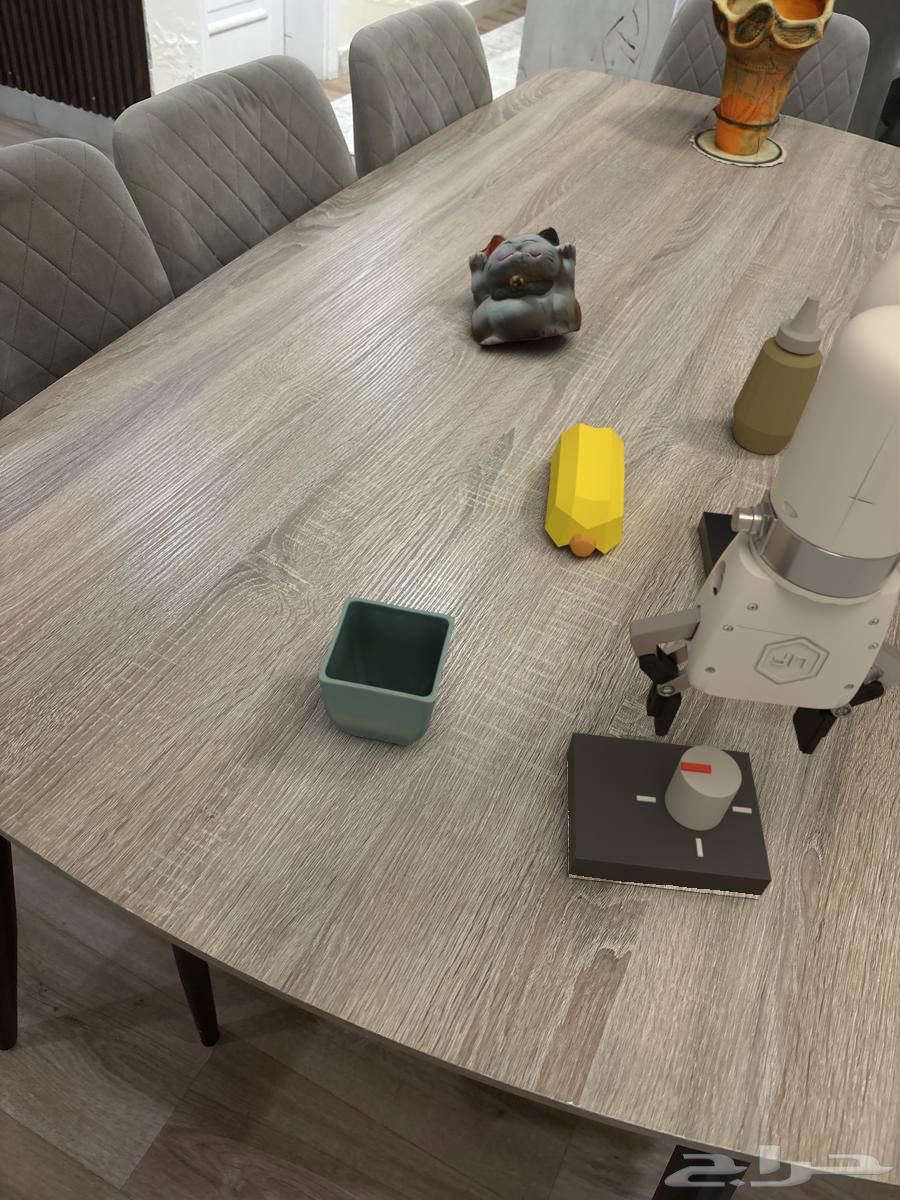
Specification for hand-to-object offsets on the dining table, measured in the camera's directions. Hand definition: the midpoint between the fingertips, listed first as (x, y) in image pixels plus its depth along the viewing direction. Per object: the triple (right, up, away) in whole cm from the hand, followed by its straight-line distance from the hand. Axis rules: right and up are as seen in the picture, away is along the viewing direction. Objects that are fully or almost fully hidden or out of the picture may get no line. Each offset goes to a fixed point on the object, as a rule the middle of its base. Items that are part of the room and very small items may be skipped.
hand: (729, 728), depth 63 cm
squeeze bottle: (+17, +27, +47) cm, 57 cm away
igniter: (+13, +12, +31) cm, 36 cm away
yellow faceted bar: (-5, +18, +35) cm, 40 cm away
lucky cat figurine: (-10, +43, +59) cm, 74 cm away
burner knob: (-1, -7, +7) cm, 10 cm away
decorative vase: (+34, +93, +113) cm, 150 cm away
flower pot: (-24, -1, +14) cm, 28 cm away
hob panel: (-3, -9, +9) cm, 13 cm away
